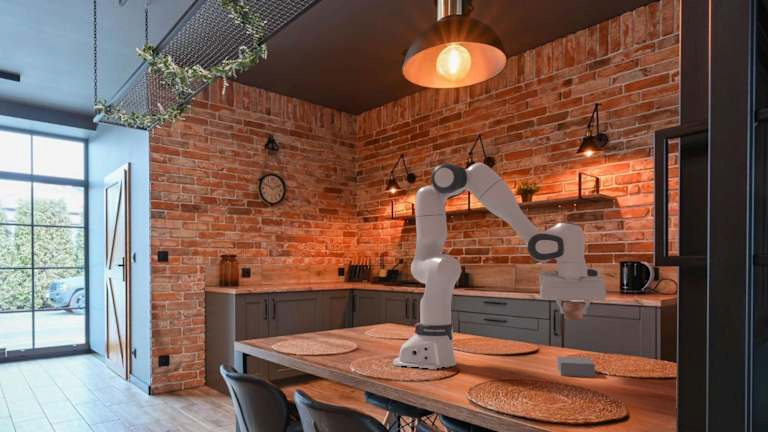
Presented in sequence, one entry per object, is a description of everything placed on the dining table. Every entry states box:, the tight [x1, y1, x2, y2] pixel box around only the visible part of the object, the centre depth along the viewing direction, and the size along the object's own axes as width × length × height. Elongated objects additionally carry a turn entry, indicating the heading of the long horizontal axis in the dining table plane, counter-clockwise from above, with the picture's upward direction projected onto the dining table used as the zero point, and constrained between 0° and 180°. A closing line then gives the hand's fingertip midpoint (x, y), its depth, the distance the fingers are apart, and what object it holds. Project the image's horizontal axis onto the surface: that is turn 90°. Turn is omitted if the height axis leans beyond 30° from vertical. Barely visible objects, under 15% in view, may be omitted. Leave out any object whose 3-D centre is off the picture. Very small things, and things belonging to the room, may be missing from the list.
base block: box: [557, 356, 596, 378], centre depth 158 cm, size 10×10×4 cm
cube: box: [563, 302, 584, 321], centre depth 160 cm, size 5×5×5 cm
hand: (573, 313), depth 159 cm, fingers closed on cube, 5 cm apart
